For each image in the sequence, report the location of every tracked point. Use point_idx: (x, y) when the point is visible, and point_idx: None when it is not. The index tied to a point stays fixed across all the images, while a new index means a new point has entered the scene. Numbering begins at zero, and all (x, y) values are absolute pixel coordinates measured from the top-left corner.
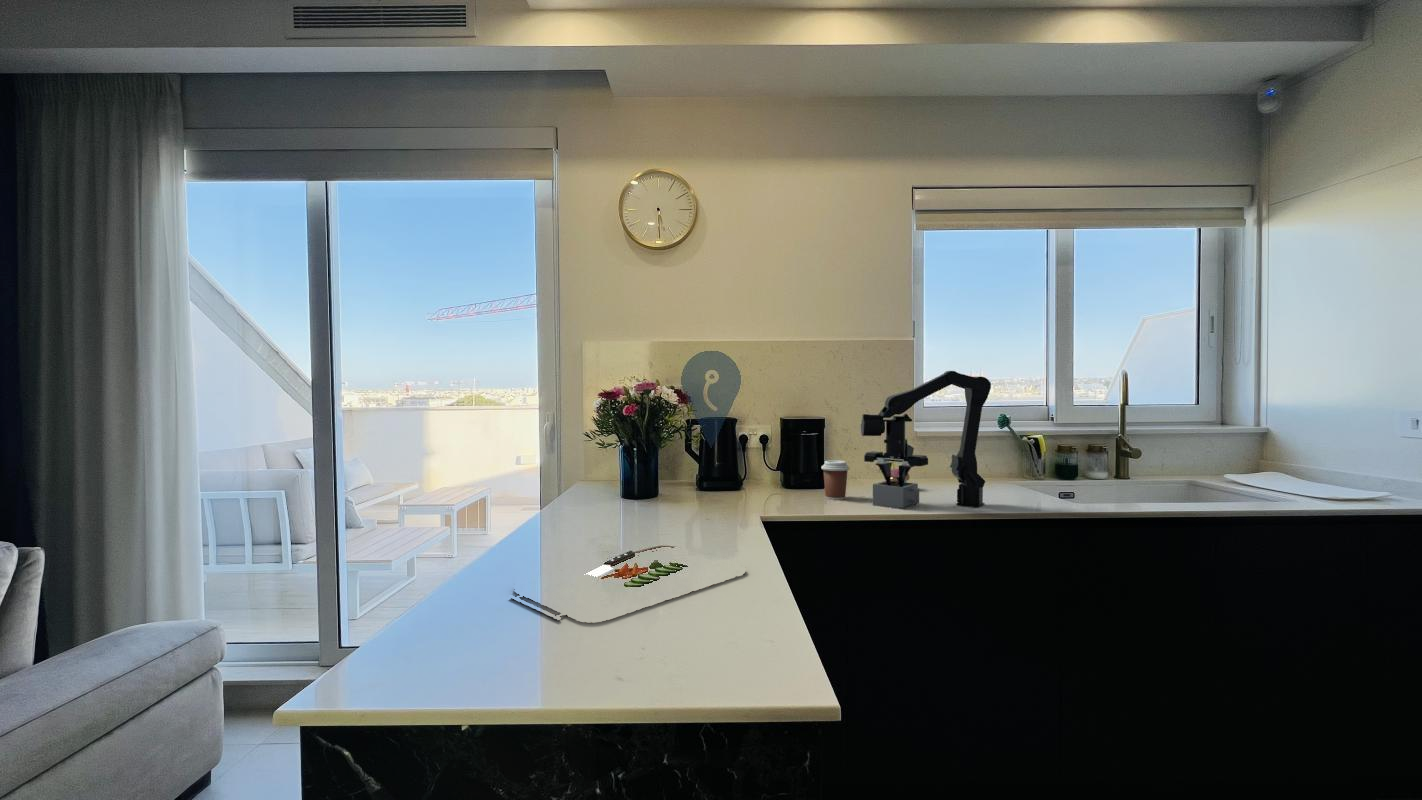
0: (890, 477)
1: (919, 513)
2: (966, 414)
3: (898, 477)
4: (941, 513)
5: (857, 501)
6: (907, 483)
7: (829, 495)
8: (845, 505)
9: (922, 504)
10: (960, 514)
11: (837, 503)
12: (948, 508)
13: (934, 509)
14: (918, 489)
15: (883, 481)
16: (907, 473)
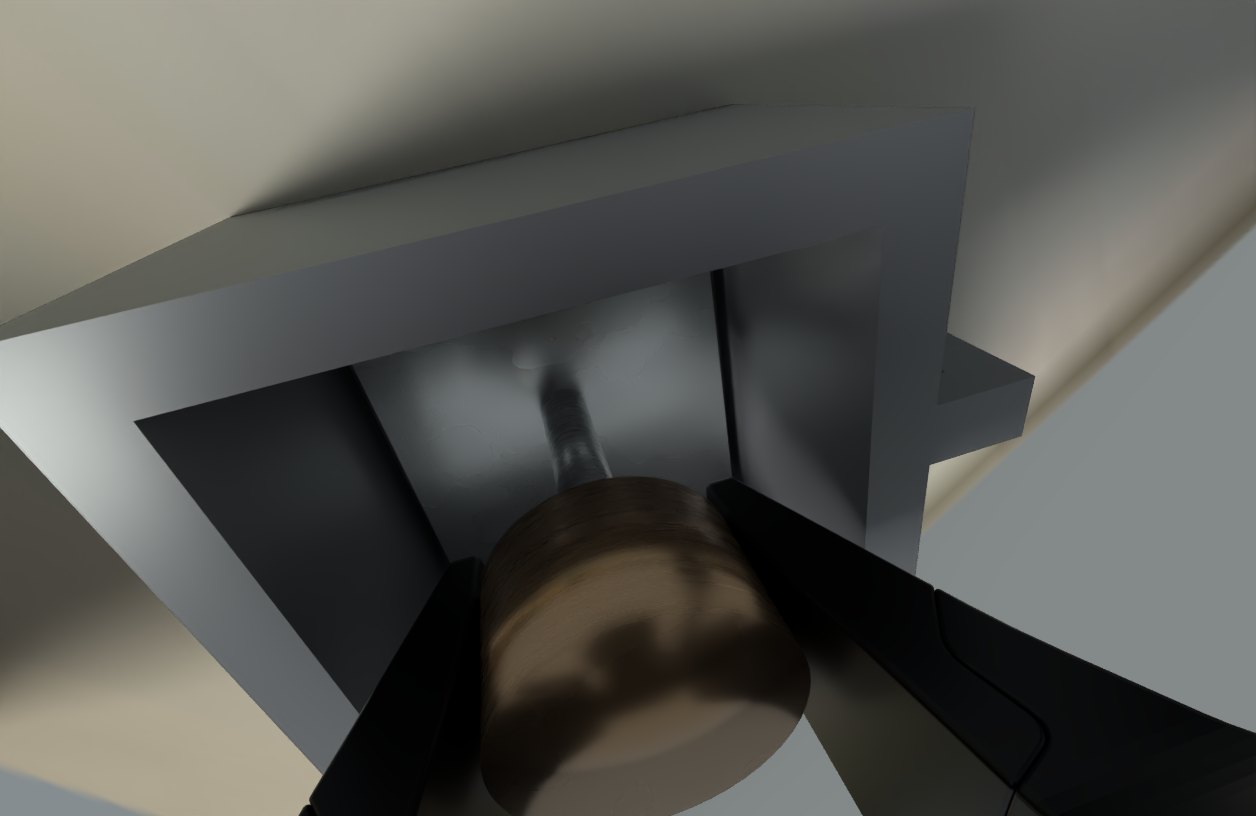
0: (607, 812)
1: (933, 477)
2: None
3: (788, 734)
4: (1090, 327)
5: (117, 597)
6: (722, 265)
7: None
8: (294, 762)
9: (781, 34)
10: (1248, 218)
11: (155, 782)
12: (1135, 2)
13: (1001, 217)
14: (1022, 404)
15: (167, 596)
16: (1053, 656)
